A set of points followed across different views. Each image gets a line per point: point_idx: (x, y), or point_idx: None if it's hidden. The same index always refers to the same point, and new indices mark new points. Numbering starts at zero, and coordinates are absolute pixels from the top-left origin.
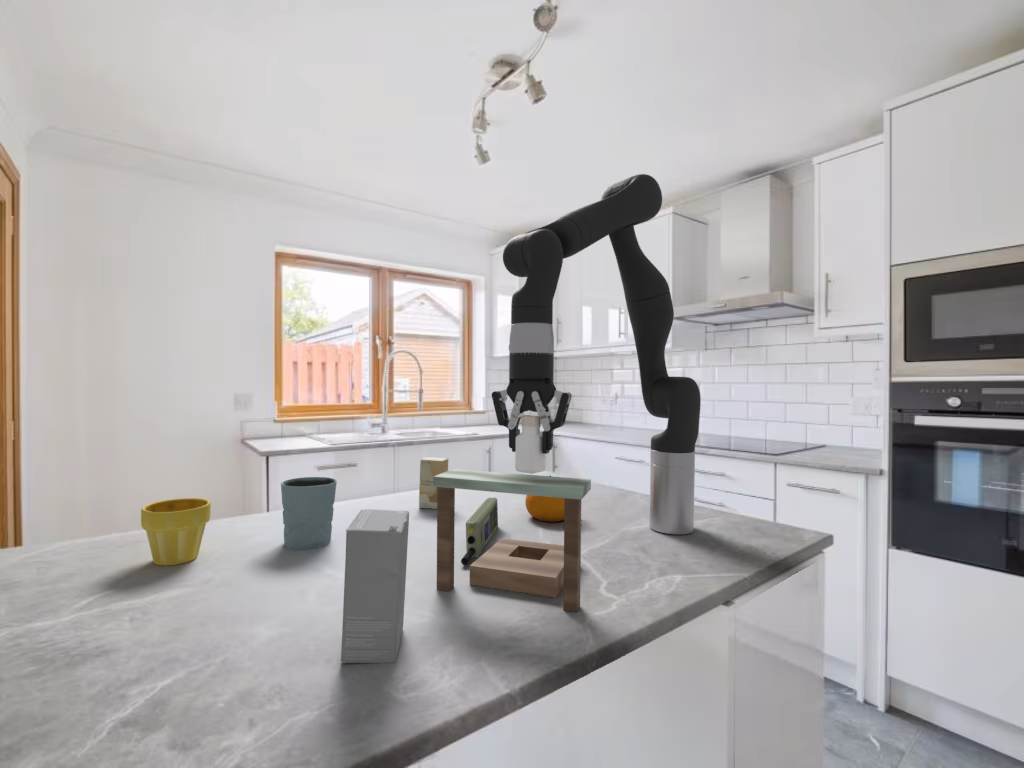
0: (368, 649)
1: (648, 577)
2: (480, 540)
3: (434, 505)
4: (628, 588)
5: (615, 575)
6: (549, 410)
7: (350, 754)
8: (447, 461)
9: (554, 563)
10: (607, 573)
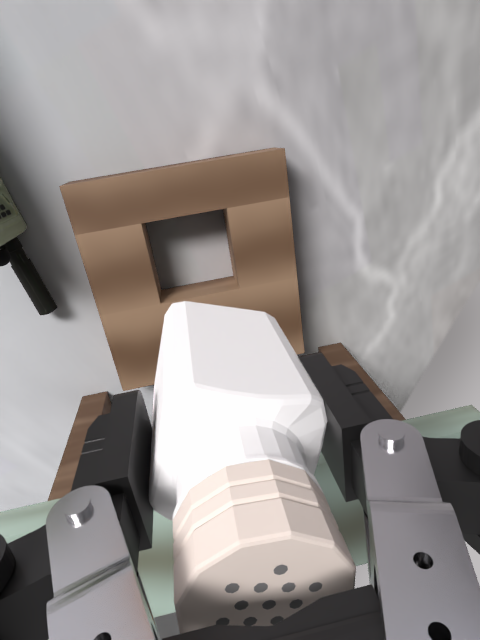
0: None
1: (440, 144)
2: (10, 224)
3: None
4: (406, 227)
5: (372, 171)
6: (461, 546)
7: None
8: None
9: (275, 288)
10: (354, 168)
